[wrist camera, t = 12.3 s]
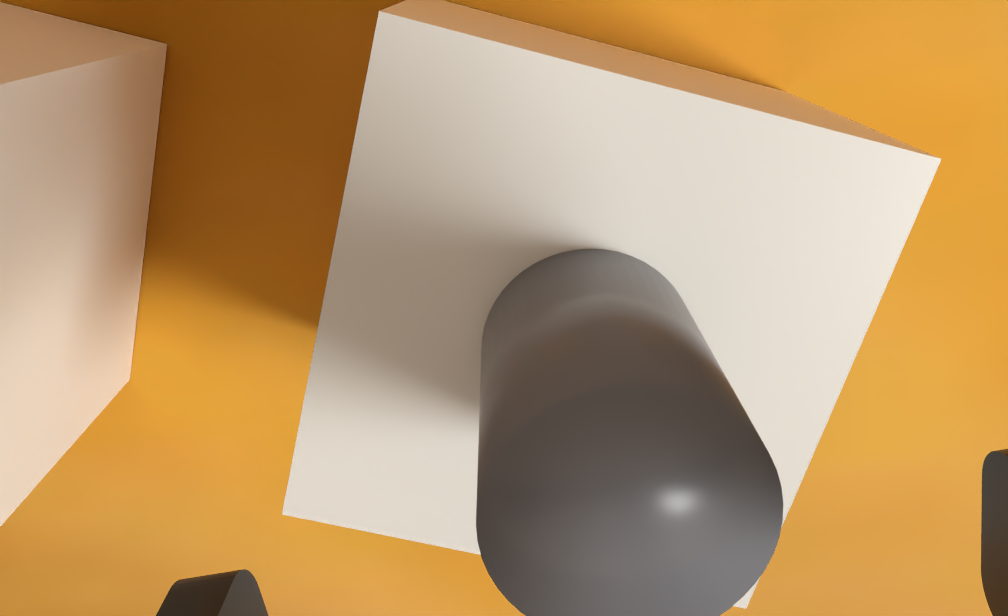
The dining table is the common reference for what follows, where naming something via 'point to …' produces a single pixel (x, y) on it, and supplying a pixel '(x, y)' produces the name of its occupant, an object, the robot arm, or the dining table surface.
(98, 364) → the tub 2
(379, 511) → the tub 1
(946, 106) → the dining table surface
